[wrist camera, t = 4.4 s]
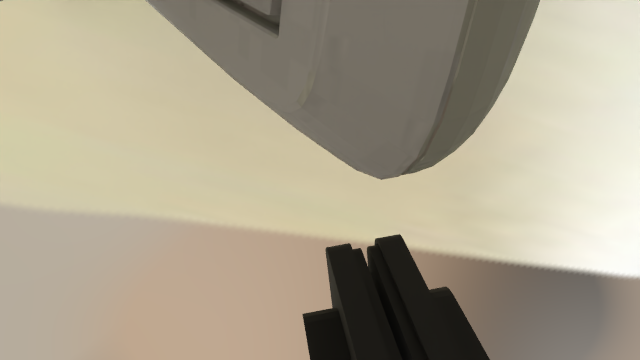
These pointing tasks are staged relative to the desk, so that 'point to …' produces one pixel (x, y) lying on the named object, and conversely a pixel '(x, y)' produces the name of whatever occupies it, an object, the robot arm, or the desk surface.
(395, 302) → the robot arm
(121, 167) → the desk surface
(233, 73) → the digital clock
